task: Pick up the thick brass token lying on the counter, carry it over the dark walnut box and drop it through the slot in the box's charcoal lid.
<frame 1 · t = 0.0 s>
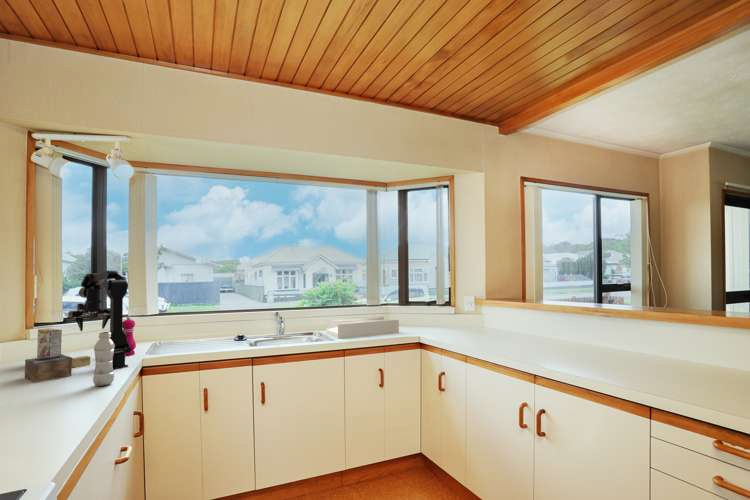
hand: (92, 329, 191), 15 cm above the worktop, tool pointing down, fingers open, 9 cm apart
candy bar box: (48, 364, 181), on the worktop
plastic bottle: (103, 385, 146), on the worktop
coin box: (48, 376, 159), on the worktop
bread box: (362, 334, 265), on the worktop
pepper mill: (127, 355, 201), on the worktop
token: (80, 366, 178), on the worktop
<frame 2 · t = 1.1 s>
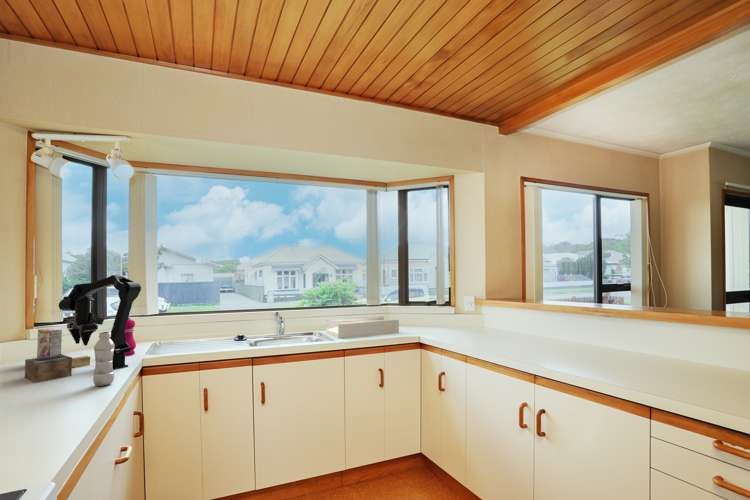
hand: (81, 344, 178), 10 cm above the worktop, tool pointing down, fingers open, 9 cm apart
nothing on the worktop moved.
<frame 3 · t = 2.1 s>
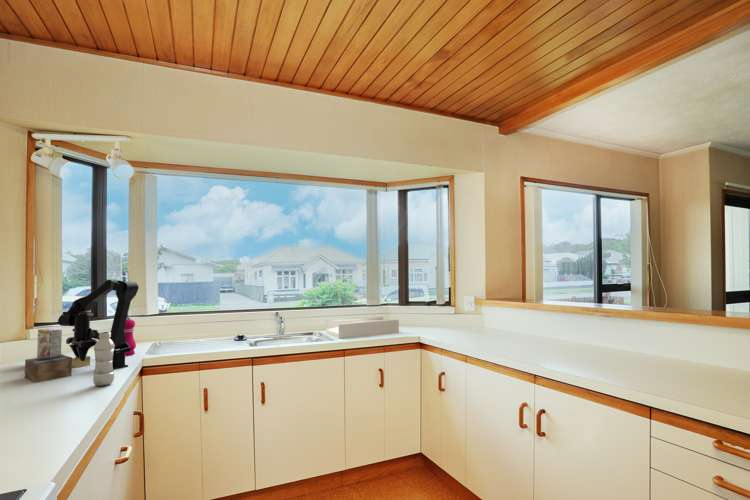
hand: (80, 360, 178), 3 cm above the worktop, tool pointing down, fingers closed on token, 4 cm apart
token: (80, 366, 178), on the worktop, touching gripper
everything else where it was.
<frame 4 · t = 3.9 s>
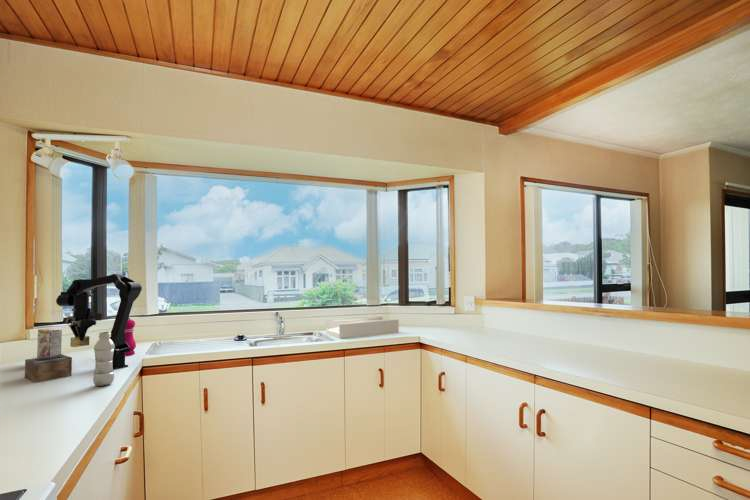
hand: (80, 340, 177), 12 cm above the worktop, tool pointing down, fingers closed on token, 4 cm apart
token: (79, 345, 177), point 9 cm above the worktop, touching gripper
everything else where it was.
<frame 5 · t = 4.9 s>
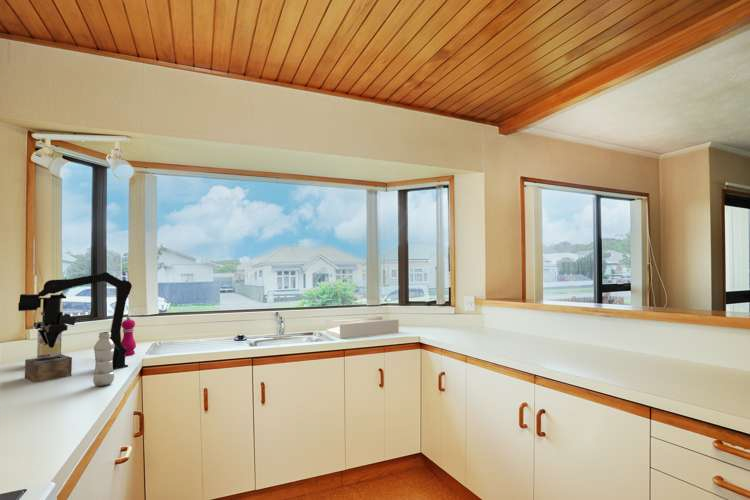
hand: (49, 347, 160), 12 cm above the worktop, tool pointing down, fingers closed on token, 4 cm apart
token: (49, 353, 160), point 10 cm above the worktop, touching gripper
everything else where it was.
when the fingers open (11 cm above the worktop, at t = 5.6 s): token drops 9 cm, resting in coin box.
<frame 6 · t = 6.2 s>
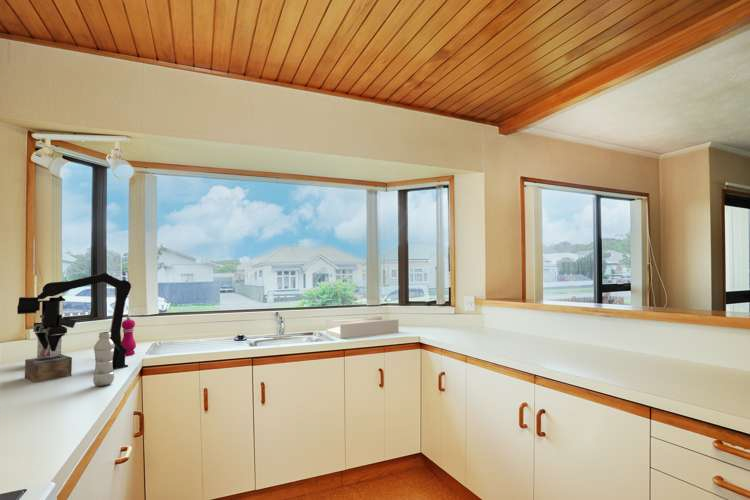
hand: (49, 350, 160), 11 cm above the worktop, tool pointing down, fingers open, 9 cm apart
token: (48, 377, 159), resting in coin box
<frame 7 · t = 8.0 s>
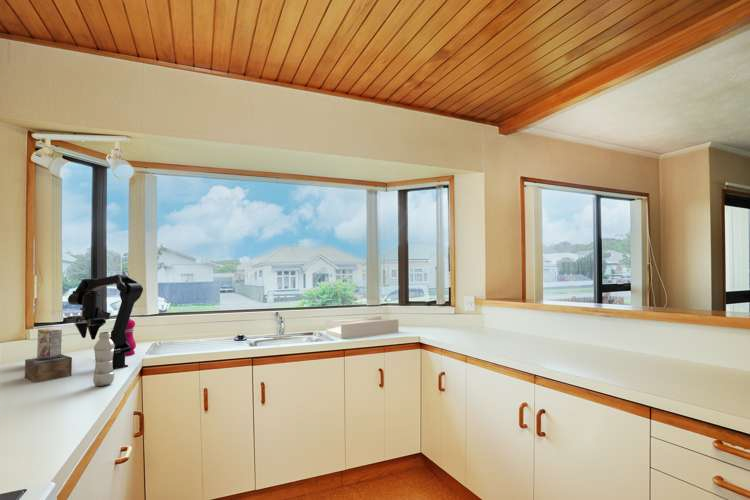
hand: (88, 338, 180), 12 cm above the worktop, tool pointing down, fingers open, 9 cm apart
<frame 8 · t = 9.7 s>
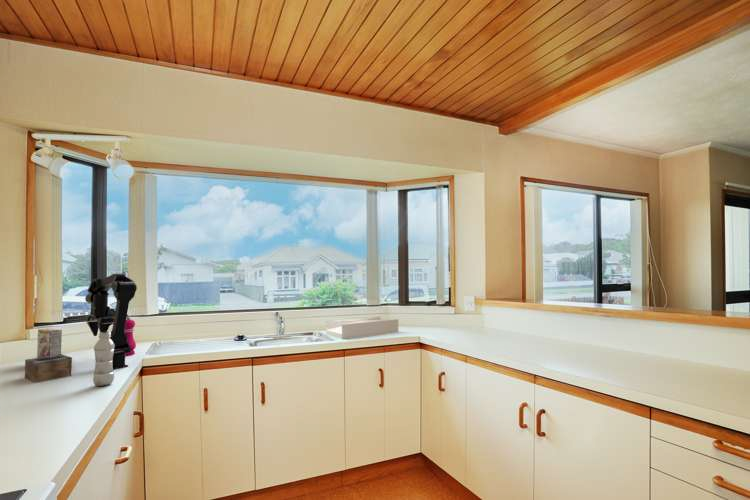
hand: (99, 336, 186), 12 cm above the worktop, tool pointing down, fingers open, 9 cm apart
at the end: token inside the target area on the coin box (0.0 cm from its centre), point 0.0 cm above the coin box's base; the gripper is holding nothing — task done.
